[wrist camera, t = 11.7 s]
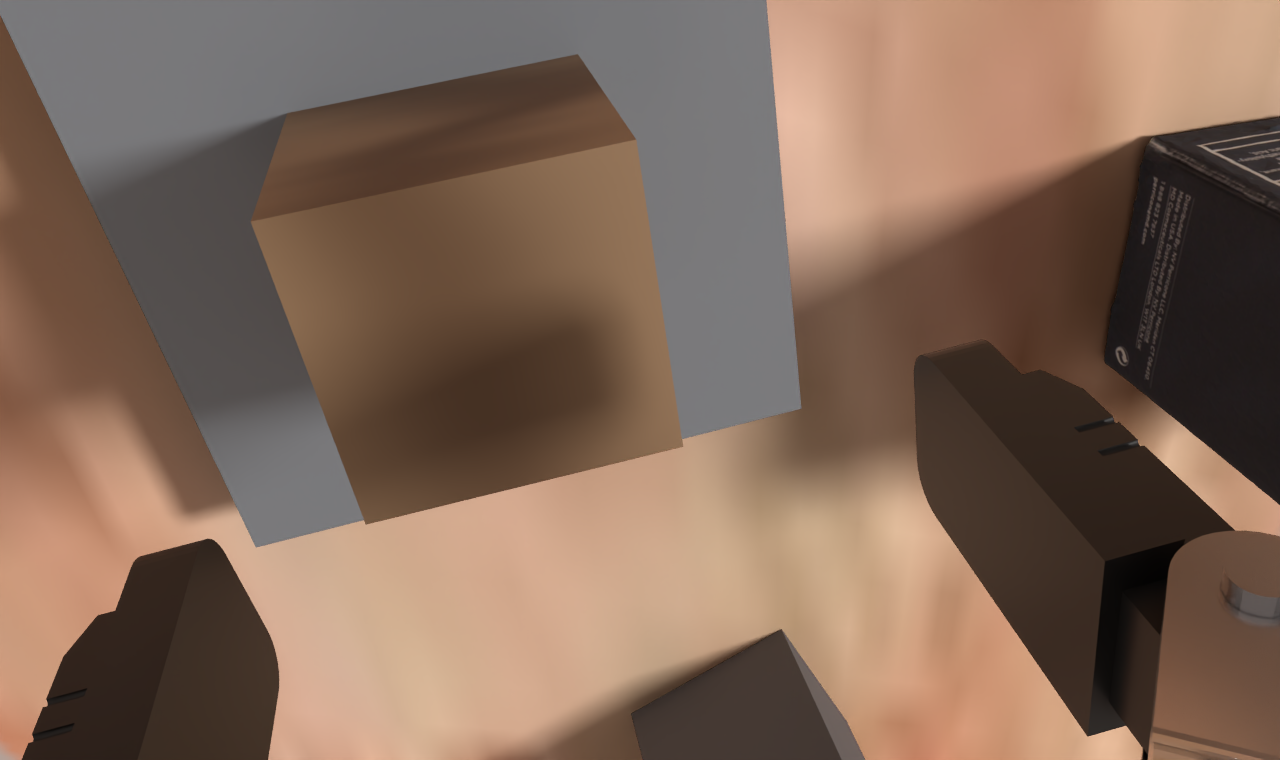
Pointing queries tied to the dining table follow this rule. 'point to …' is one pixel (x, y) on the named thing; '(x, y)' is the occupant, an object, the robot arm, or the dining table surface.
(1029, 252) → the dining table surface
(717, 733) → the charcoal block
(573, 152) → the walnut cube
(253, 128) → the slate coaster
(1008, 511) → the robot arm
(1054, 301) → the dining table surface
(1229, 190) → the small box
